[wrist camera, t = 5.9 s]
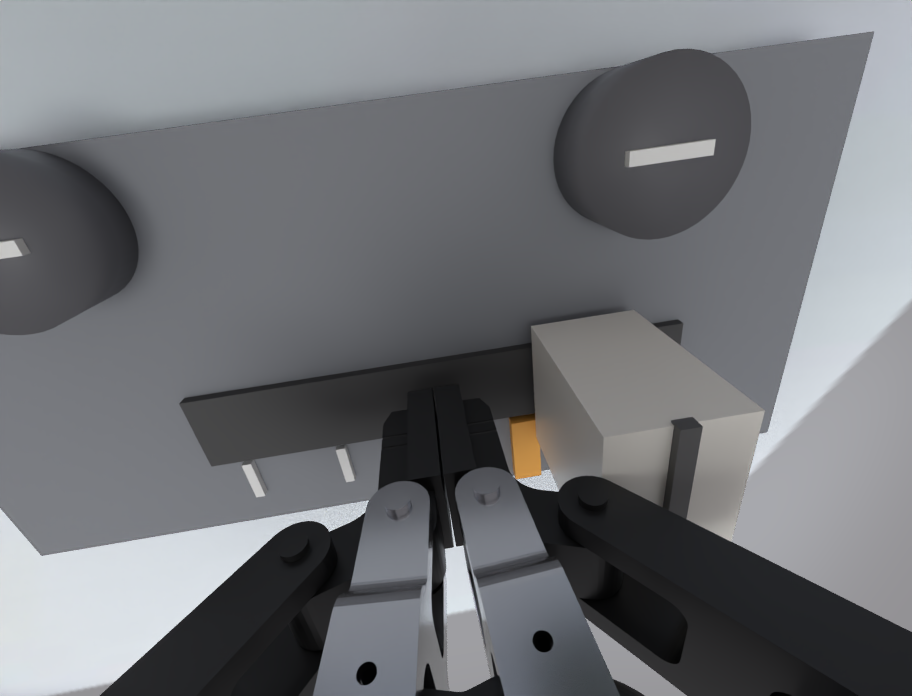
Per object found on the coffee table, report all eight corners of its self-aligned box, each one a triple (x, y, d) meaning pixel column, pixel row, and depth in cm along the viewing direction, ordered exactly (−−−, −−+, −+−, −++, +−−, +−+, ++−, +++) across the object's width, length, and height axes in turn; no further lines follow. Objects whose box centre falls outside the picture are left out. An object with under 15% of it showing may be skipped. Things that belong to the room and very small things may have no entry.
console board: (-165, 180, 11) (-464, 203, 7) (804, 47, 12) (987, 5, 8) (81, 510, 16) (-16, 620, 13) (730, 401, 17) (819, 474, 14)
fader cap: (530, 324, 12) (608, 442, 7) (633, 308, 12) (773, 414, 7) (536, 437, 14) (600, 589, 9) (625, 423, 14) (733, 565, 9)
